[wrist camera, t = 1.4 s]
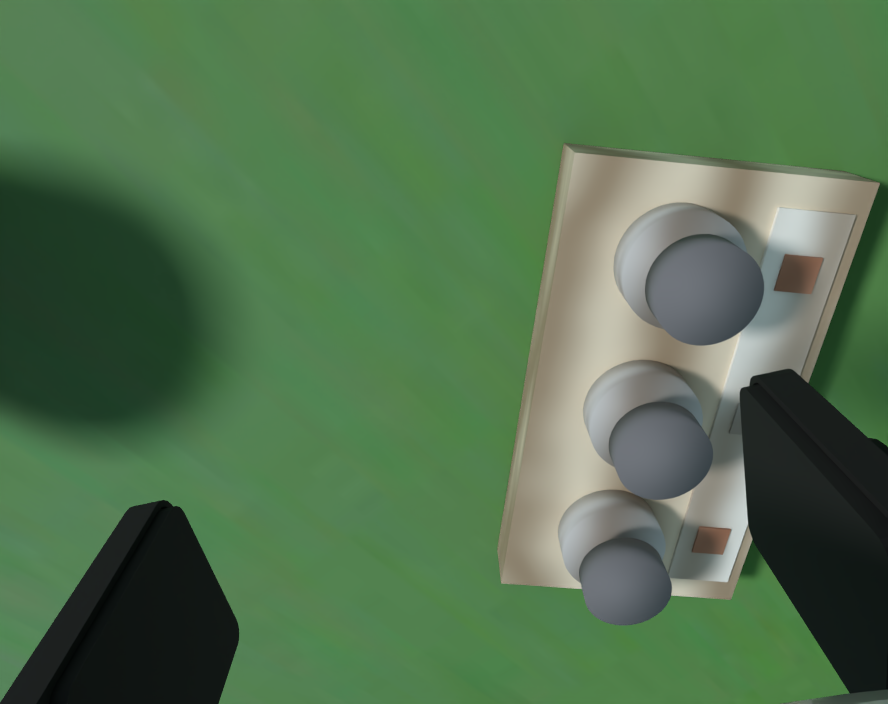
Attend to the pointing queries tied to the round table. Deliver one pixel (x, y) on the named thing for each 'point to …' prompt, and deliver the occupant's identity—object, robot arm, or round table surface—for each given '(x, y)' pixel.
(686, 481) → the button middle
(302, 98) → the round table surface
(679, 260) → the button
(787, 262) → the button board
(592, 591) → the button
